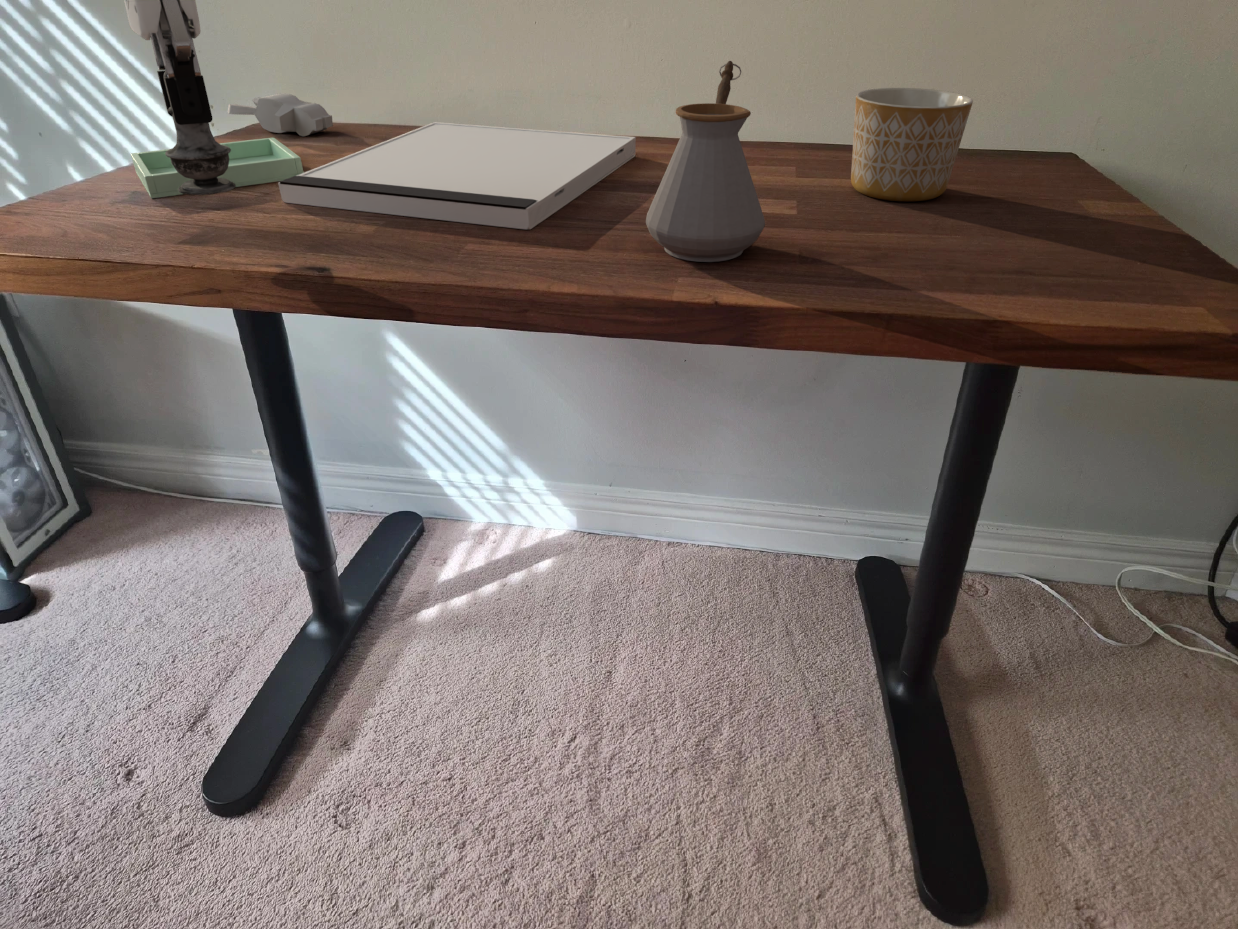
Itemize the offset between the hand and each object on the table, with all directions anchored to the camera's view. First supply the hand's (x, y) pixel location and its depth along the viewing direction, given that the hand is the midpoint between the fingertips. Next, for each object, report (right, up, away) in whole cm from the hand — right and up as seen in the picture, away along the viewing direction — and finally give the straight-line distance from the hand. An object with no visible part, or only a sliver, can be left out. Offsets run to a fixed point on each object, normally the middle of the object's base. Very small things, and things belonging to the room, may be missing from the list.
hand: (190, 116), depth 79 cm
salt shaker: (0, -6, +4) cm, 7 cm away
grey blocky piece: (-10, +18, +48) cm, 53 cm away
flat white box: (+23, +3, +25) cm, 34 cm away
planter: (+74, -1, +20) cm, 77 cm away
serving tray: (-10, +3, +26) cm, 28 cm away
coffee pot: (+50, -10, +6) cm, 52 cm away
